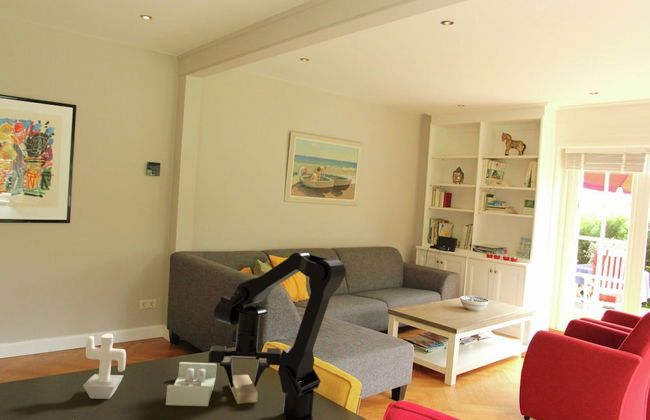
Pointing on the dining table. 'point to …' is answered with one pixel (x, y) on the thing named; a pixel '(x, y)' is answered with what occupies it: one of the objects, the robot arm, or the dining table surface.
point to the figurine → (104, 367)
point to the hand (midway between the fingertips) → (243, 387)
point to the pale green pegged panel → (192, 385)
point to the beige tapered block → (243, 389)
